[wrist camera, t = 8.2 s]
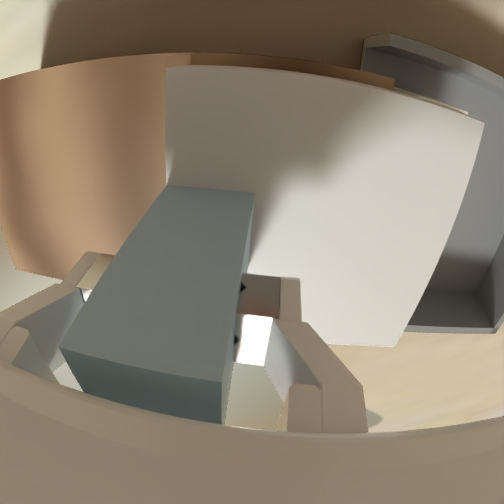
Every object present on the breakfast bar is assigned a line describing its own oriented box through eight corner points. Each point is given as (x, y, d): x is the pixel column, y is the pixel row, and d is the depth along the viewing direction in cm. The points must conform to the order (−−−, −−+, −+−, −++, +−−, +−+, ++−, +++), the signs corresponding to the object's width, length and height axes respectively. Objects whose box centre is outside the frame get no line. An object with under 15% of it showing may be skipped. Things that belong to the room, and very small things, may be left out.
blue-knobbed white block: (187, 298, 16) (136, 466, 9) (184, 65, 10) (-13, 118, 3) (386, 318, 16) (421, 478, 9) (458, 110, 10) (637, 229, 2)
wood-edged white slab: (59, 223, 22) (15, 269, 17) (40, 70, 15) (-24, 87, 10) (323, 254, 21) (332, 319, 17) (359, 71, 15) (394, 78, 10)
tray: (317, 278, 23) (322, 325, 19) (364, 38, 14) (390, 32, 10) (474, 294, 22) (495, 333, 18) (543, 110, 13) (585, 130, 9)
